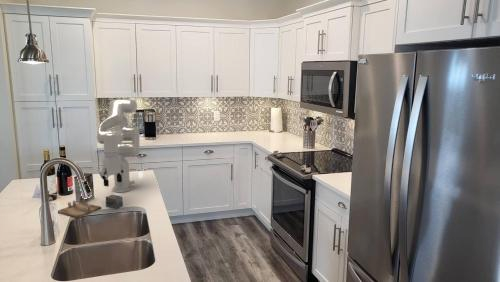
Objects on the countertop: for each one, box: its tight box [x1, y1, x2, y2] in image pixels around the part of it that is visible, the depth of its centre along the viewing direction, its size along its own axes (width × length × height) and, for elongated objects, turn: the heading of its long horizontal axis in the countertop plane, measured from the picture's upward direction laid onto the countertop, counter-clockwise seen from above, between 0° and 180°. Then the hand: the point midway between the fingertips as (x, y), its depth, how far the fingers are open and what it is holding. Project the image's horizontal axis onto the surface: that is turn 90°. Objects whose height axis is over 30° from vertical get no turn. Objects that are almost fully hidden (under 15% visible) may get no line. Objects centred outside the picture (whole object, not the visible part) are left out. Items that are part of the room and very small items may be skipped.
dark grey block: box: [105, 194, 124, 210], centre depth 212 cm, size 5×8×6 cm, turn 64°
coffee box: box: [73, 172, 95, 204], centre depth 220 cm, size 9×6×16 cm
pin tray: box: [57, 200, 102, 219], centre depth 205 cm, size 16×16×4 cm
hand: (113, 183), depth 209 cm, fingers open, 9 cm apart
